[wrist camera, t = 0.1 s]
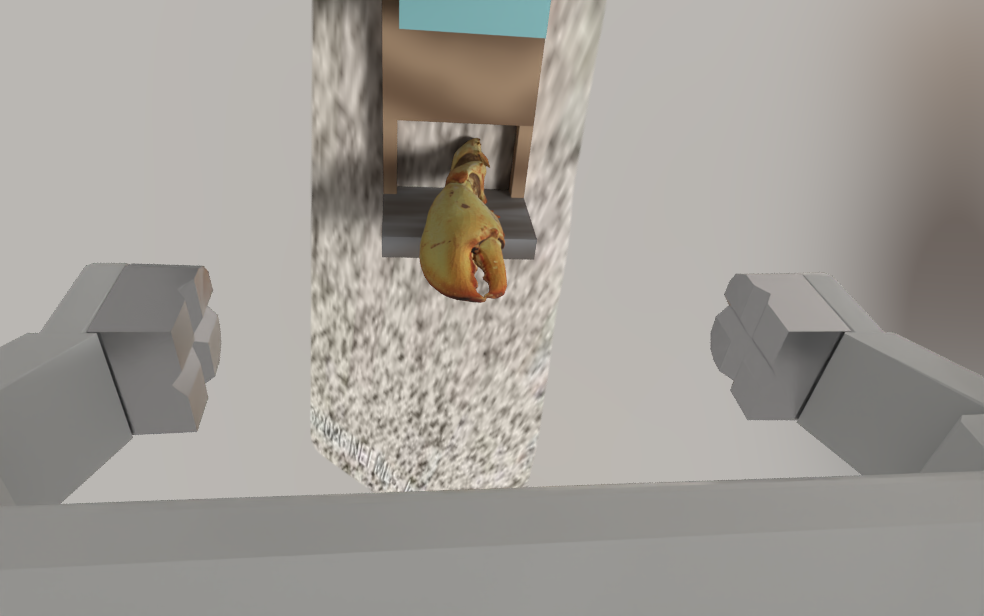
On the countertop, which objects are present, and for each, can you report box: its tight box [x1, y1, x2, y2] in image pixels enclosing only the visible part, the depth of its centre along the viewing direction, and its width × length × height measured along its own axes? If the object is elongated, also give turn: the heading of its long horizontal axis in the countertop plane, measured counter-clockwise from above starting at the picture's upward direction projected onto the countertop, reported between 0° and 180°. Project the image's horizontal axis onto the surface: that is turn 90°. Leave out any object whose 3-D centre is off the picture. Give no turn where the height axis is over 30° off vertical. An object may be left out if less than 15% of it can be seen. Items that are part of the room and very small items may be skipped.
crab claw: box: [419, 138, 507, 303], centre depth 52 cm, size 7×5×20 cm
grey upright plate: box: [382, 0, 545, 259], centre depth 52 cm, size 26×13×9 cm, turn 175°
